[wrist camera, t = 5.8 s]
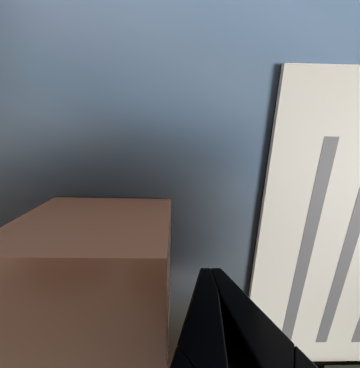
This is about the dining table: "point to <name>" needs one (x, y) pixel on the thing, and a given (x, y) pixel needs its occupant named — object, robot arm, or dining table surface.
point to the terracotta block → (86, 284)
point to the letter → (313, 213)
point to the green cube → (342, 366)
